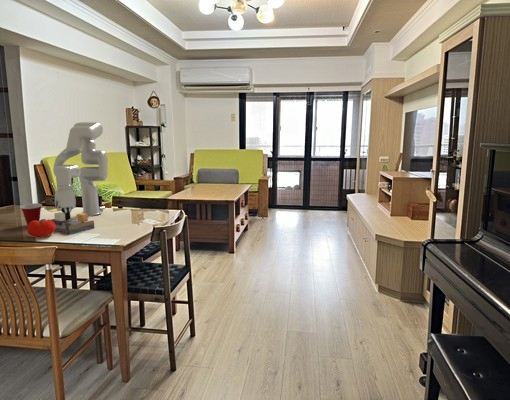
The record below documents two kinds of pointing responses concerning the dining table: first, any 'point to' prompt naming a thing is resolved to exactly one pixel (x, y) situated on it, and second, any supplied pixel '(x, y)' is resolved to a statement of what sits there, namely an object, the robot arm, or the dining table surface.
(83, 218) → the block
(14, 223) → the dining table surface
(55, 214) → the block
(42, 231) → the tomato
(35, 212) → the plastic cup
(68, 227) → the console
